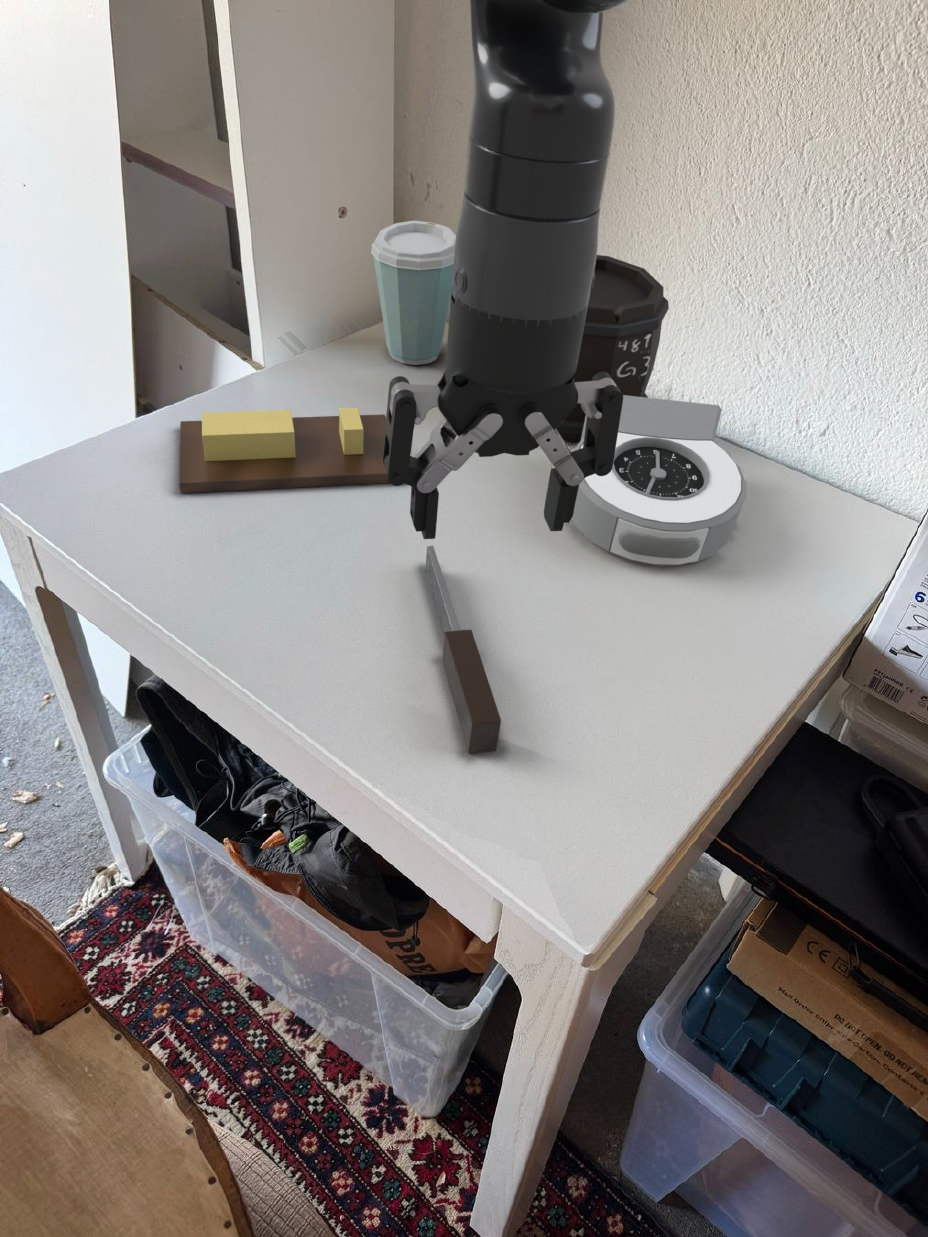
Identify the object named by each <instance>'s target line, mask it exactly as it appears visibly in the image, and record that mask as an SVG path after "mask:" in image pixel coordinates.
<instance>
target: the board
mask: <svg viewBox="0 0 928 1237" xmlns="http://www.w3.org/2000/svg"><path fill="white" fill-rule="evenodd" d="M360 418H361V422H362V426H363V454H353V455H344V452H343V447H342V443H341V438H340V434H339V415H326V416H325V415H324V416H322V415H321V416H297V417H296V416H295V417H293V416H292V420H293V427H294V437H295V457H293V458H270V459H247V460H223V461H205V456H204V447H203V439H202V420H182V421H179V422H180V426H179V428H180V429H179V468H178V469H179V472H178V478H179V479H178V485H179V493H180V494H192V493H193V494H195V493H213V492H214V493H217V492H233V491H234V492H235V491H251V490H252V491H254V490H255V491H257V490H275V489H292V488H293V489H294V488H313V487H314V488H315V487H335V486H336V487H337V486H357V485H374V484H375V485H376V484H390V483H389V481H388V478H387V471H386V467H385V465H384V463H383V459H382V452H383V442H384V433H385V423H386V414H384V413H381V414H360Z"/></svg>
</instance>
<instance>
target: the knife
mask: <svg viewBox="0 0 928 1237" xmlns="http://www.w3.org/2000/svg"><path fill="white" fill-rule="evenodd" d="M425 556H426V557H425V573H426V577H427V581H428V584H429V588H430V591H431V594H432V597H433V600H434V604H435V608H436V612H437V615H438V618H439V621H440V625H441V629H442V633H443V636H444V639H443V640H444V641H443V649H442V650H443V651H442V661H441V662H442V666H443V669H444V672H445V675H446V676H445V677H446V679H447V684H448V687H449V691H450V693H451V698H452V702H453V704H454V708H455V711H456V716H457V719H458V722H459V725H460V729H461V733H462V737H463V741H464V742H465V743H464V744H465V748H466V750H467V755H473V754H483V753H490V752H497V751H498V750H497V749H498V742H499V736H500V730H501V725H502V724H501V723H502V719H501V716H500V713H499V710H498V706H497V703H496V701H495V700H496V699H495V697H494V694H493V691H492V688H491V685H490V681H489V679H488V676H487V673H486V670H485V667H484V663H483V660H482V657H481V654H480V651H479V648H478V645H477V642H476V639H475V636H474V633H473V629H471V628H470V629H460V627H459V623H458V620H457V617H456V615H455V611H454V608H453V605H452V604H453V603H452V601H451V599H450V595H449V592H448V589H447V588H448V587H447V585H446V582H445V579H444V576H443V572H442V570H441V566H440V563H439V560H438V556H437V553H436V549H435V546H434V545H427V546H426V555H425Z"/></svg>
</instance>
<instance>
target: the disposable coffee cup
mask: <svg viewBox="0 0 928 1237" xmlns="http://www.w3.org/2000/svg"><path fill="white" fill-rule="evenodd" d="M455 241H456V234H455V232H453V230H452V229H451V227H448V226H445V225H442V224H439V223H435V222H431V221H422V220H409V221H408V220H407V221H403V222H401V221H400V222H396V223H393V224H391V225H389V226H387V227H384V228H382V229H381V230H380V231H379V233H378V234H377V236H376V238H375V240H374V241H373V243H372V244H371V251H370V254H371V255H372V256H373V262H374V270H375V276H376V283H377V289H378V296H379V302H380V309H381V315H382V322H383V329H384V336H385V342H386V349H387V350H388V353H389V355H390V356H391V358H392V359H393V360H394V361H397V362H398V363H401V364H405V365H412V366H413V365H414V366H419V365H420V366H421V365H428V364H431V363H432V362H434V361H436V360H437V359H438V357H439V355H440V352H441V350H442V347H443V341H444V336H445V331H446V326H447V321H448V315H449V311H450V303H451V291H452V278H453V265H454V252H455Z"/></svg>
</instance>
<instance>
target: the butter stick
mask: <svg viewBox="0 0 928 1237" xmlns="http://www.w3.org/2000/svg"><path fill="white" fill-rule="evenodd" d="M292 418H293V413H292V410H291V409H279V410H278V409H277V410H275V409H274V410H249V411H247V410H245V411H218V412H216V411H215V412H201V421H202V439H203V447H204V456H205V461H223V460H247V459H270V458H293V457H295V437H294V427H293V420H292Z"/></svg>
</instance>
